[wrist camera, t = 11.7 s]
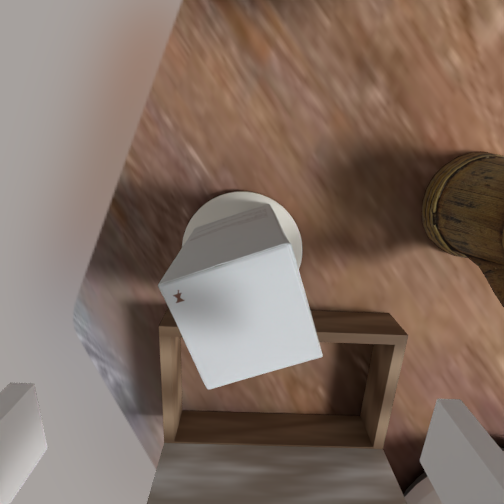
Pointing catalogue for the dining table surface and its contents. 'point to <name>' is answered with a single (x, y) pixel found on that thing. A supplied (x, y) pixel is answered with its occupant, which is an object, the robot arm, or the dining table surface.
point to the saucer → (240, 203)
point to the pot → (422, 491)
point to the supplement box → (240, 299)
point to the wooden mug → (470, 213)
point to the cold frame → (283, 434)
